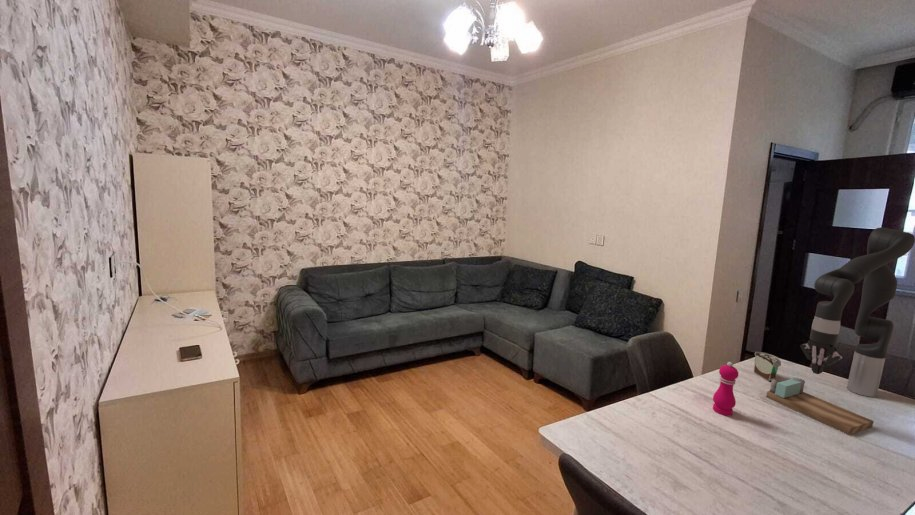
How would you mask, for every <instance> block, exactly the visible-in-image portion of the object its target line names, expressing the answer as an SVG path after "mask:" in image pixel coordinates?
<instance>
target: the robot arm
mask: <svg viewBox="0 0 915 515" xmlns="http://www.w3.org/2000/svg"><path fill="white" fill-rule="evenodd" d="M914 245H915V235H914V234H913V233H912V232H911V233H910V232H907V231H903V230H900V229H899V230H898V229H893V228H892V229H891V228H887V227H877V228H874V229H873V230H872V231H871V232H870V235H869V236H868V239H867V248H866V251H867V252H866V254H865V255H860V256H857V257H854V258H852V259H850V260H848V261H847V262H846V263H845V264H843V265H842V266H841V267H839V268H836V269H833V270H831V271H828V272H826V273H823V274H822V275H820V276H818V278H817V279H816V280H815V281H814V290H815V291H816V292H817V293H818V294H821V295H825V296H830V297H833V299H832V300H831V301H830V300H822V301H818V303H817V304H816V310H815V314H814V317H813V318H814V319H813V320H812V324H811V329H810V335H809V340H808V341H807V343H802V344H800V345H799V346H800V349H801V350H802V352H803V354H804V356H805V357H806V359H807V360H808V361H811V362H812V363H811V372H812V373H813V374H815V375H820V374H822V373H823V372H824V368H825V367H826V366H831V365H833V364H835V363H837V362H839V361H841V360H843V359H844V356H843V355H840V354H839V352H837V351H838V349H837V345H838V339H839V335H840V330H841V321H842V316H843V311H844V309H845V306H846V305H847V303H848V301H849V300H850V299H851V297H852V296H853V294H854V293H855V285H856V284H858V283H859V282H862V280H863V282H862V288H861V298H860V299H861V300H860V306H859V309H858V313H857V317H856V320H855V324H854V333H855V334H856V336H858V337H861V338H865V339H869V340H870V339H871V340H875V341H877V342H873V343H859V344H856V345H855V348H854V353H853V357H852V358H853V359H852V363H851V366H850V370H849V376H848V380H847V384H846V389H847V390H849V391H850V392H852V393H854V394H856V395H857V394H858V395H861V396H865V397H873V398H876V397H877V396H878V391H879V387H880V385H881V384H880V383H881V380H882V375H883V370H884V365H885V362H886V357H887V353H888V352H887V351H888V348H889V347H888V346H889V343H890V341H891V338H892V335H893V331H894V323H893V321H892V320H890V319H884V318H879V317H874V316H870V315H871V314H872V313H873V312H875V311H876V310H877V309H879V308H881V307H882V306H884V305H886V304H887V303H889V302H890V301H892V300H893V299H894V298H895V296H896V292H897V286H898V280H897V277H896V275H895V274H894V272H893V270H892V269H891V267H890V266H889V265H888V264H890V263H892V262H894V261H895V260H898V259H900V258H901V257H903V256H905V255H906V254H908V253H909V252H910V251H911V250H912V249H913V247H914ZM854 284H855V285H854ZM830 356H831V358H830V359H829V360H828V358H829V357H830Z"/></svg>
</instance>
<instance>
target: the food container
mask: <svg viewBox="0 0 915 515" xmlns="http://www.w3.org/2000/svg"><path fill="white" fill-rule="evenodd" d="M754 356H755V357H754V366H753V367H754V368H753V374H756V375H757V376H759V378H762V379H764V380H765V381H767V382H769V383H771V382H772V379H774V380H776V376H777V372H778V370H779V367H781V366H782V362H781V358H779V357H778V356H775V355H773V354H770V353H768V352H761V351H755V352H754Z"/></svg>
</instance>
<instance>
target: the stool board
mask: <svg viewBox="0 0 915 515" xmlns="http://www.w3.org/2000/svg"><path fill="white" fill-rule="evenodd" d="M778 382H779V381H778V380H776V379H775V380H774V379H772V382H770V388H769V390H768V391H766V396H765V397H766V398H767V399H769V400H771V401H774V402H775V403H776V402H777V403H779V404H780V405H783V407H787V408H789V409H791V410H793V411H796V413H797V412H798V413H800V414H802V415H804V416H806V417H809V418H811V419H813V420H815V421H817V422H820V423H821V424H823V425H824V424H825V425H826V426H827V427H828V426H829V427H830V428H832V427H833V429H834V428H835V430H837V431H839V430H840V431H839V432H841V433H843V432H844V433H843V434H845V433H846V435H848V436H849V435H853V434H856V433H858V432H861V431H865V430H869V429H871V428H873V425H874V422H875V421H874V420H872V419H869V418H867V417H865V416H863V415H861V414H858V413H856V412H853V411H850V410H848V409H846V408H843V407H840V406H839V405H836V404H833V403H831V402H828V401H827V400H823V399H822V398H819V397H817V396H815V395H811V393H810V394H809V393H807V392H805V391H803V393H802V394H800V393H799V394H796V395H793V396H789V397H786V398H782V397H780V396H778V395H775V391H776V386H777V383H778Z"/></svg>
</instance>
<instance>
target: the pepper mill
mask: <svg viewBox="0 0 915 515" xmlns="http://www.w3.org/2000/svg"><path fill="white" fill-rule="evenodd" d="M733 365H734V363H733V362H731V361H728V362H727V363H726V364H723V365H721V366H720V368H719V371H718V373H719V375H720V376H719V386H718V388H717V389H716V391H715V392H714V393H713V396H712V400H713V404H712V409H713V411H714V412H715V413H718V414H719V415H722V416H729V417H730V416H731V415H733V413H734V410H733V408H735V406H736V396H735V394H734V385H735V384H736V379H738V377H739V371H738V369H737V368H736V367H735V366H733Z"/></svg>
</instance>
